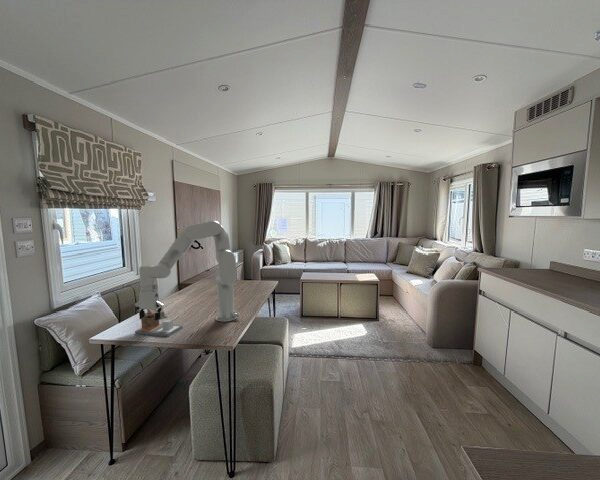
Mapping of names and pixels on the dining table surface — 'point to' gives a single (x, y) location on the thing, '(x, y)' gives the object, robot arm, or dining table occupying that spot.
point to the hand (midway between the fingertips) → (150, 319)
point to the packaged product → (152, 312)
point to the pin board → (161, 329)
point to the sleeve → (149, 322)
